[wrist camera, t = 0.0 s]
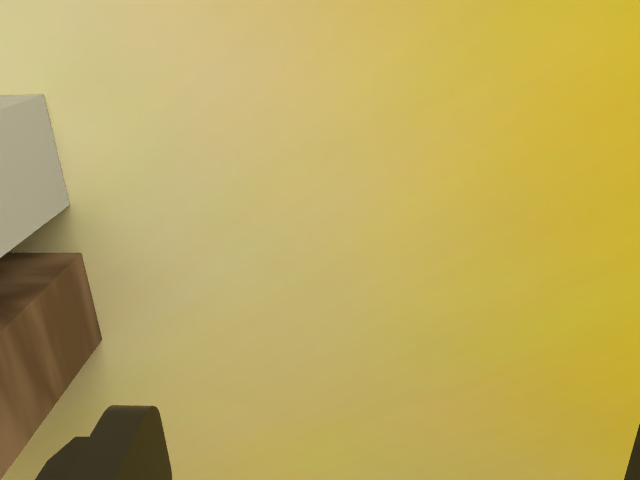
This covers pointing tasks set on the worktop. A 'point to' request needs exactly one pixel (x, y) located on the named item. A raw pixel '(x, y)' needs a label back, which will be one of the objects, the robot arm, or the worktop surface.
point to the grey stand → (27, 169)
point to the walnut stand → (40, 340)
